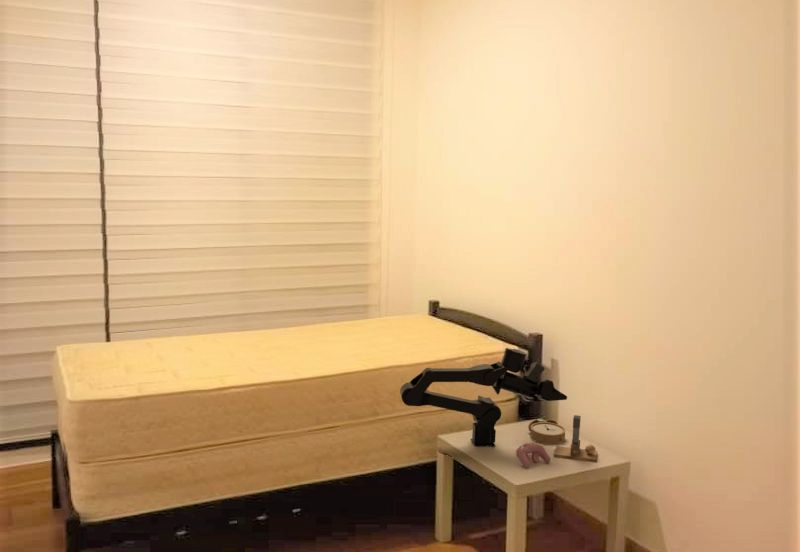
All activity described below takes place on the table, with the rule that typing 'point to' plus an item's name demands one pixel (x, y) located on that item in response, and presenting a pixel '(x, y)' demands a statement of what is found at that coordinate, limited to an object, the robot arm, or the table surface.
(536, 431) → the alarm clock
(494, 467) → the table surface
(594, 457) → the base
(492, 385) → the robot arm
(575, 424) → the lever
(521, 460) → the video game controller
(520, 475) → the table surface
